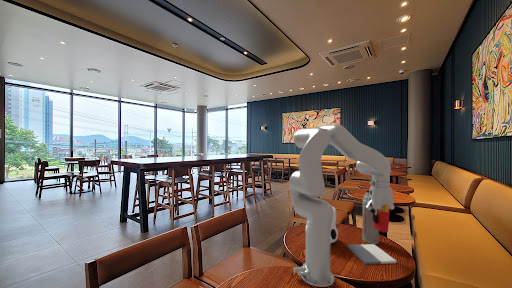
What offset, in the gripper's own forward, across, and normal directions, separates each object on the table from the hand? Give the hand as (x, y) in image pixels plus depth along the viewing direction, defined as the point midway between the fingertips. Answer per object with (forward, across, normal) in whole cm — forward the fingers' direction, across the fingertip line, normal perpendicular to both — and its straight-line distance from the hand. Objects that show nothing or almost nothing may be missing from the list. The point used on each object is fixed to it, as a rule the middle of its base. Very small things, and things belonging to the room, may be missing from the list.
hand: (380, 221), depth 101 cm
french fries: (+4, 0, 0) cm, 4 cm away
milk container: (+17, -21, +19) cm, 33 cm away
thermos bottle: (+17, +6, +16) cm, 24 cm away
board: (+16, -4, +2) cm, 17 cm away
